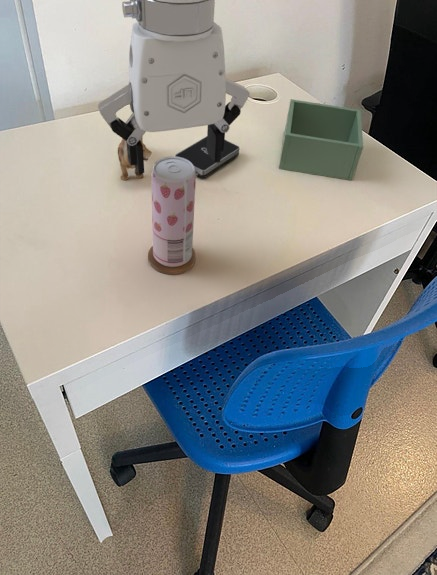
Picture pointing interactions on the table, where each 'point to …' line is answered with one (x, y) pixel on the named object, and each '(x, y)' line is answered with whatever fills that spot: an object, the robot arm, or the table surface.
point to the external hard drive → (207, 156)
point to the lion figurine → (124, 158)
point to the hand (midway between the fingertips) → (176, 162)
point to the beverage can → (173, 210)
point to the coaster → (170, 270)
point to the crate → (322, 140)
